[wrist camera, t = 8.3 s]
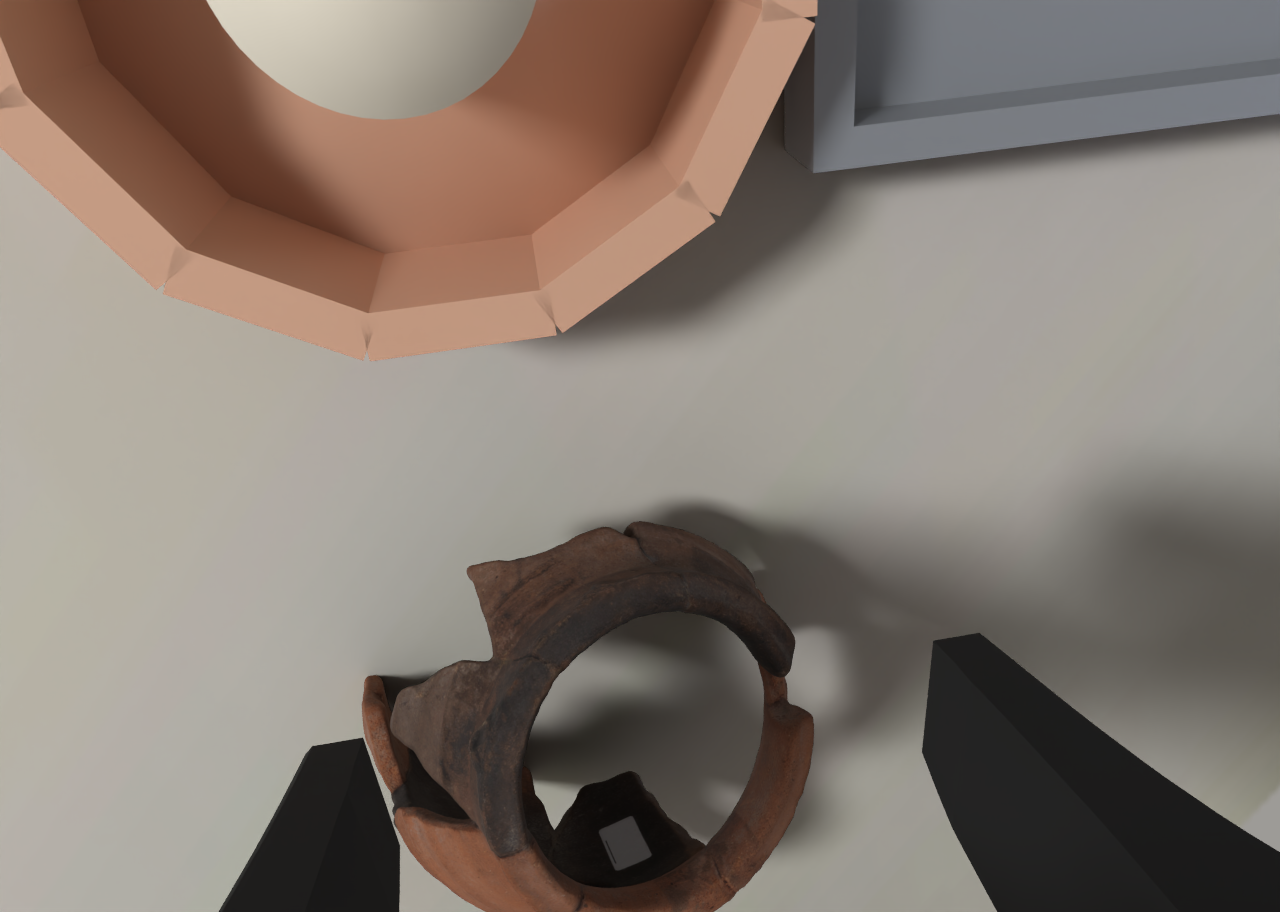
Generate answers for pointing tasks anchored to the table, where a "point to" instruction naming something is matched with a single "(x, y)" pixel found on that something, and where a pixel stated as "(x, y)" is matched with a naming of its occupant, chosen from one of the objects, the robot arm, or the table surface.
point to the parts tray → (1020, 74)
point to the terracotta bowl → (396, 164)
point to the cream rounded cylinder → (377, 49)
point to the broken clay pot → (605, 811)
